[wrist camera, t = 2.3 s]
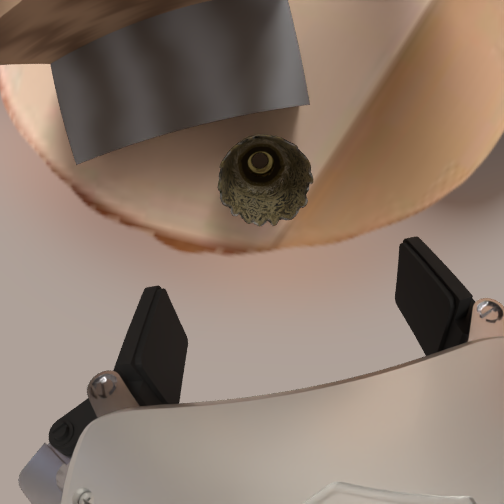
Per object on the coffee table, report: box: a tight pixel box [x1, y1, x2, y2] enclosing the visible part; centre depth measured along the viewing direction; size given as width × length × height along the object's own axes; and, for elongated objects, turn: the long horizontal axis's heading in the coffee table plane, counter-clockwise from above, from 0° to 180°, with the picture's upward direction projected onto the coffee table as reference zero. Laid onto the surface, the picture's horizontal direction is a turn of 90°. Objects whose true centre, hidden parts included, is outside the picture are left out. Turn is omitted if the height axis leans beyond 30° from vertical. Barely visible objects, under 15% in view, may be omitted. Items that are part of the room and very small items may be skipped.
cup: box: [218, 134, 313, 226], centre depth 26 cm, size 8×7×8 cm
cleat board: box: [0, 0, 310, 165], centre depth 17 cm, size 22×12×18 cm, turn 101°
